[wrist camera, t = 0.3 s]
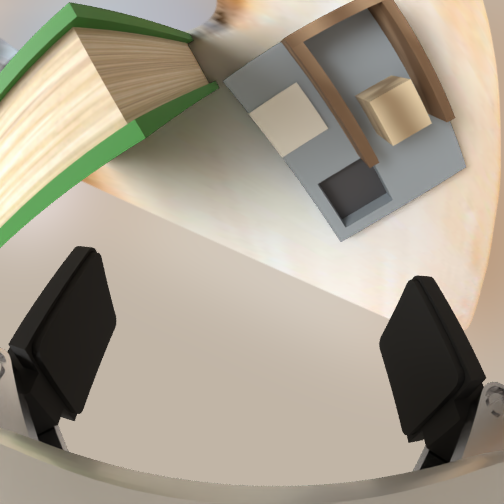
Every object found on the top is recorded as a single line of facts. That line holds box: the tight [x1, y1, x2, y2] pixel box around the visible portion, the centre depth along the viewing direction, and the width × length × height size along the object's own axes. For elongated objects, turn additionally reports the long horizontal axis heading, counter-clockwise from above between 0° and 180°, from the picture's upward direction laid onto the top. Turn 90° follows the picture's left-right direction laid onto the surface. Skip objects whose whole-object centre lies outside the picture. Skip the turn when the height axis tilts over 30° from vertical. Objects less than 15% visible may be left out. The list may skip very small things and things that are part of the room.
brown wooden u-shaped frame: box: [281, 0, 455, 168], centre depth 26 cm, size 11×15×4 cm
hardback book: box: [0, 2, 219, 248], centre depth 22 cm, size 18×7×24 cm, turn 115°
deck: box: [223, 8, 466, 242], centre depth 31 cm, size 20×24×3 cm
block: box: [355, 75, 432, 146], centre depth 27 cm, size 5×5×5 cm
